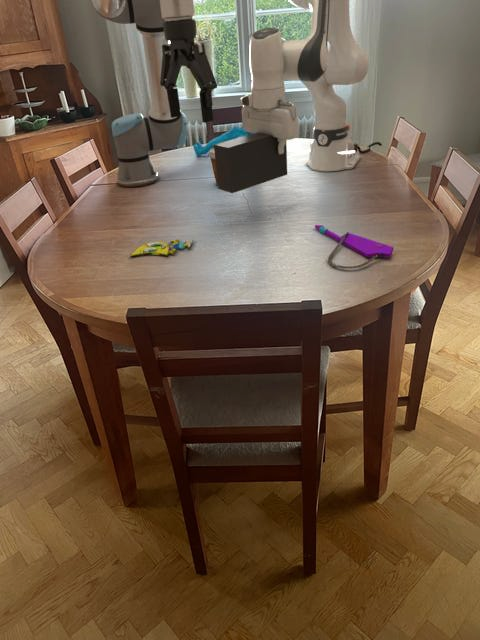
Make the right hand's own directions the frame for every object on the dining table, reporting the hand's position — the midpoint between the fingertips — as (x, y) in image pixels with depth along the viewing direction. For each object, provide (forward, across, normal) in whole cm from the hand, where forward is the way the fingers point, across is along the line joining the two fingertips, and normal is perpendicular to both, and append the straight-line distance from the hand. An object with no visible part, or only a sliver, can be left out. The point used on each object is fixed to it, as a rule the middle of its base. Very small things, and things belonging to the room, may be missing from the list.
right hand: (271, 151), depth 137 cm
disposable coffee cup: (+18, +33, -6) cm, 38 cm away
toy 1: (+17, +1, +39) cm, 42 cm away
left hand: (-13, +2, +24) cm, 27 cm away
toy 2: (+18, +66, -33) cm, 76 cm away
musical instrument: (+17, -34, +8) cm, 39 cm away
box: (+7, 0, +7) cm, 10 cm away
